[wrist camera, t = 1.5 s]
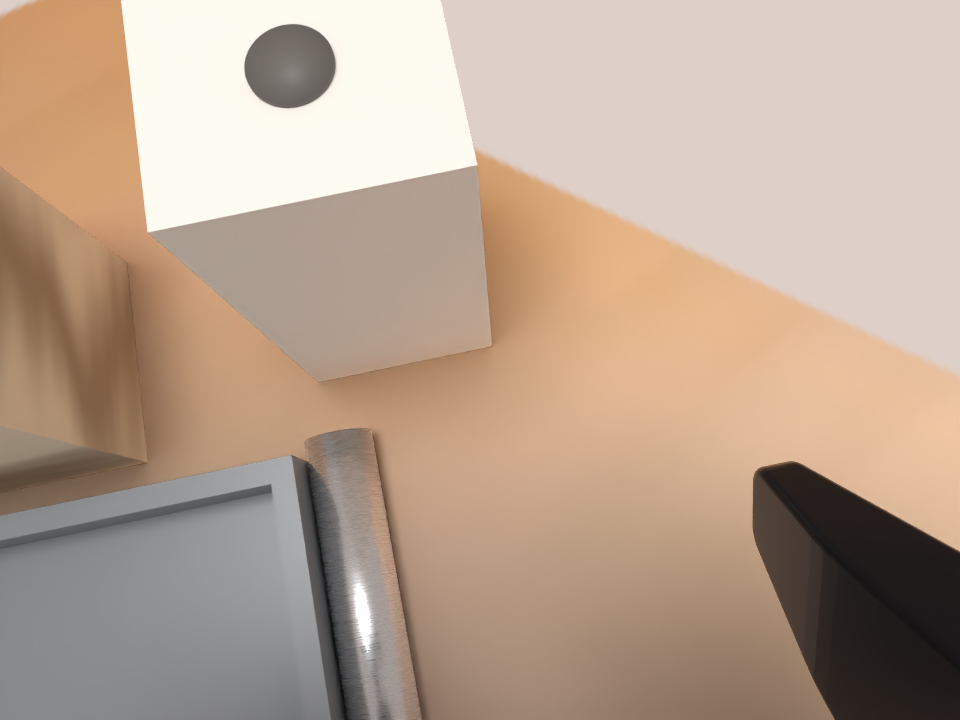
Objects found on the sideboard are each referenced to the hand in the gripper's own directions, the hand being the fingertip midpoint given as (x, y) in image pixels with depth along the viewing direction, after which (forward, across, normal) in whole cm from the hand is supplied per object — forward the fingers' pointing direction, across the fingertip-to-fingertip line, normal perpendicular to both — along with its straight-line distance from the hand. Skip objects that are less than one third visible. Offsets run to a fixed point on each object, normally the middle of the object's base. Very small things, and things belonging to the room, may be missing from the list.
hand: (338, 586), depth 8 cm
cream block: (+15, 0, +4) cm, 15 cm away
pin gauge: (+8, +2, +9) cm, 12 cm away
